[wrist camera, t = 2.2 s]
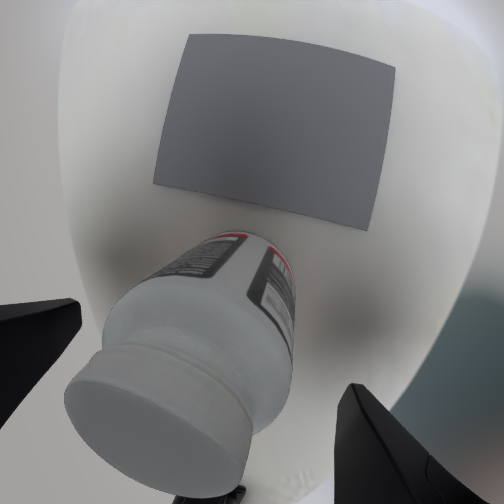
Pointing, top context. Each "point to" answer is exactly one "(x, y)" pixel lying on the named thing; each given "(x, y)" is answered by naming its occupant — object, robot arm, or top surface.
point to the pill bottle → (191, 367)
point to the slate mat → (278, 125)
